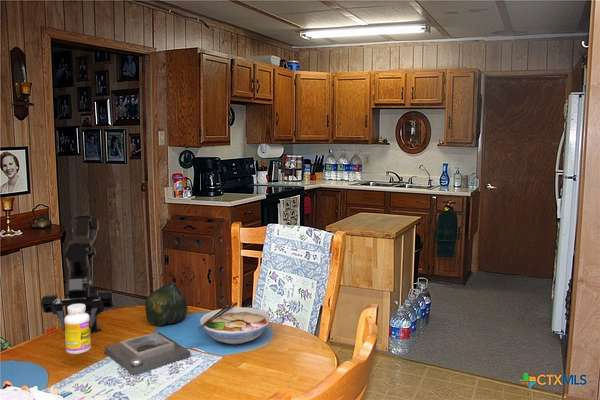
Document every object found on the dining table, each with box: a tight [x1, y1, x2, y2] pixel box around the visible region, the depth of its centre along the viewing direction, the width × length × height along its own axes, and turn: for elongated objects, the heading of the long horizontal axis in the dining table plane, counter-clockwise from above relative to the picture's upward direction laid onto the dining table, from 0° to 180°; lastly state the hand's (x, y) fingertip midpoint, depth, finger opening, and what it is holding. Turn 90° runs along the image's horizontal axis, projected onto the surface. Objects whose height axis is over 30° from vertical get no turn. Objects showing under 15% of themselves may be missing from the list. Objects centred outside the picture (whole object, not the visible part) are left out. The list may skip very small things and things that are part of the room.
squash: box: [144, 282, 189, 327], centre depth 188 cm, size 14×15×15 cm
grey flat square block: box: [104, 331, 191, 376], centre depth 161 cm, size 20×18×4 cm
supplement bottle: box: [64, 304, 92, 355], centre depth 149 cm, size 7×7×13 cm
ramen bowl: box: [197, 301, 272, 346], centre depth 172 cm, size 25×23×8 cm
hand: (77, 329), depth 148 cm, fingers closed on supplement bottle, 7 cm apart
